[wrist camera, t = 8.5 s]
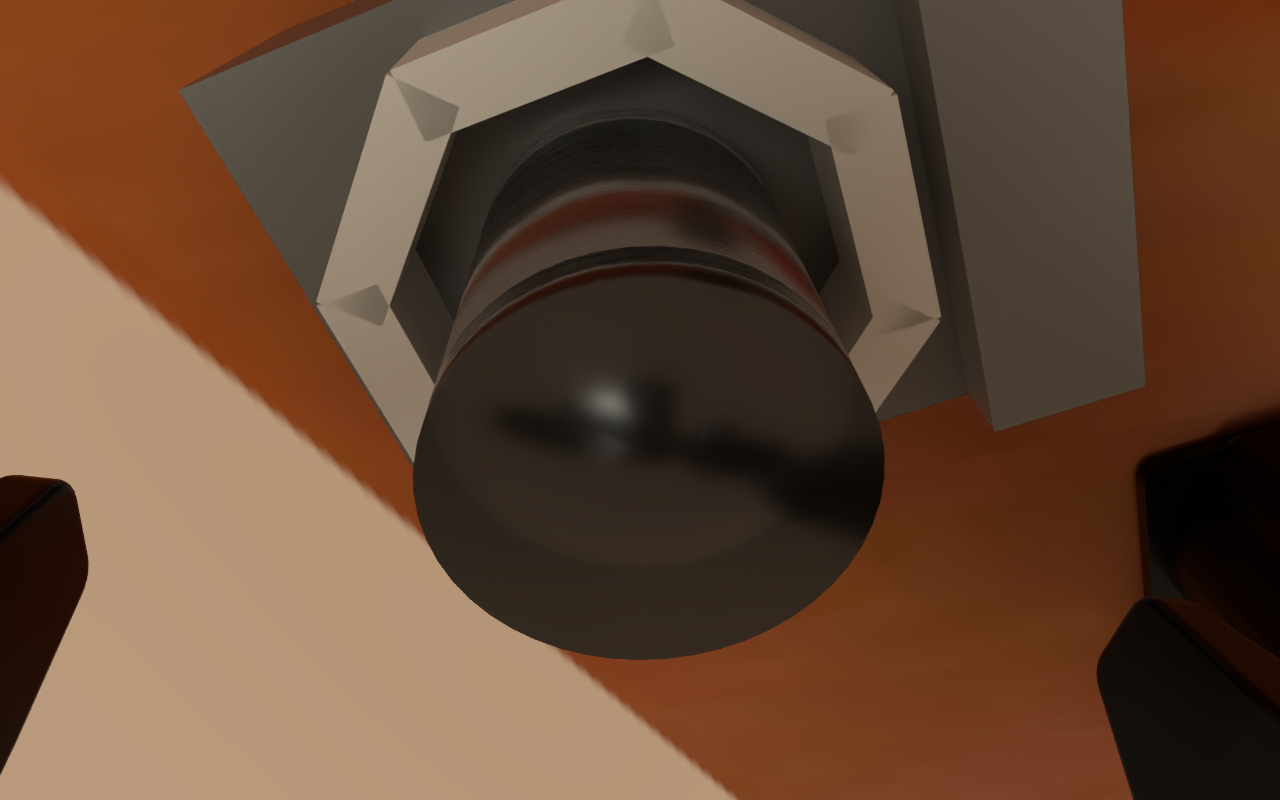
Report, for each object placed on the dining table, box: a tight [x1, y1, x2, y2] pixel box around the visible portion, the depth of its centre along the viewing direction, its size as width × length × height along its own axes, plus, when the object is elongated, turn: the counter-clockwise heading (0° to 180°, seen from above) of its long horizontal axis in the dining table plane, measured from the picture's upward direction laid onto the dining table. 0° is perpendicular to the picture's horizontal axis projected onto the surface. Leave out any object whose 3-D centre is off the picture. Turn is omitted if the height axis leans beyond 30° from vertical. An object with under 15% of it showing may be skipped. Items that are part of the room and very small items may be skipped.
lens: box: [413, 108, 884, 660], centre depth 11 cm, size 5×5×6 cm
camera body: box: [179, 0, 1146, 466], centre depth 15 cm, size 9×12×6 cm
